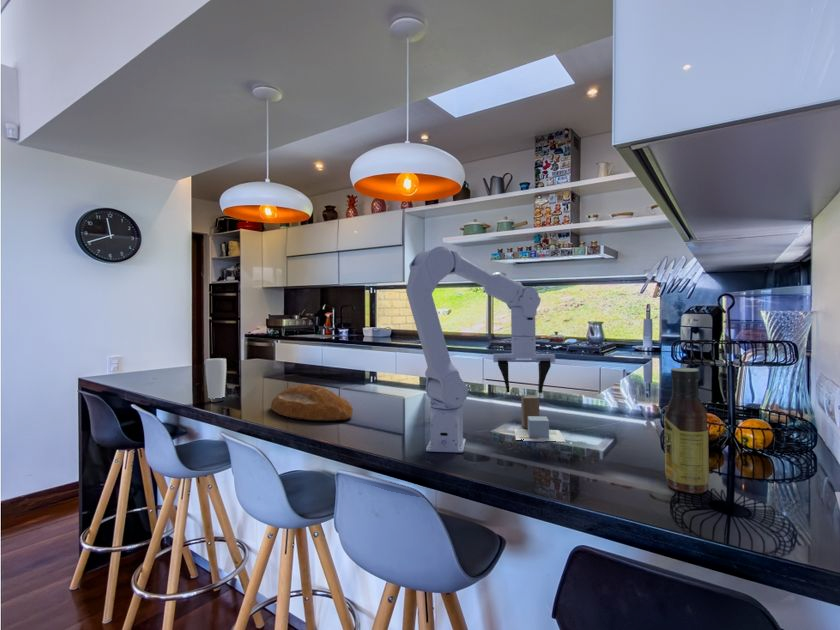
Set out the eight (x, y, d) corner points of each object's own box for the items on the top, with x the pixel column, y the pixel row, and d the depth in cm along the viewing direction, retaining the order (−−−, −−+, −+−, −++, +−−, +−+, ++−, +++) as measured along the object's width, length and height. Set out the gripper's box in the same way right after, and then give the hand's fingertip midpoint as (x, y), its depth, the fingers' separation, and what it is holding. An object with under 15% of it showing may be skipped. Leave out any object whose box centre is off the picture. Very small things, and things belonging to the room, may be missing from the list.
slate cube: (549, 437, 105) (548, 420, 105) (529, 437, 106) (529, 420, 106) (546, 432, 110) (546, 416, 110) (527, 432, 111) (527, 416, 111)
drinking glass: (207, 400, 161) (206, 358, 161) (228, 399, 163) (227, 357, 163) (204, 404, 154) (203, 360, 154) (225, 402, 156) (225, 359, 156)
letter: (565, 442, 102) (565, 441, 102) (516, 440, 104) (516, 440, 104) (559, 430, 112) (559, 430, 112) (514, 429, 114) (514, 429, 114)
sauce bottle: (669, 478, 79) (667, 365, 79) (711, 486, 75) (709, 367, 75) (661, 490, 74) (659, 369, 74) (706, 499, 70) (704, 372, 70)
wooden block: (521, 425, 118) (520, 394, 118) (536, 425, 118) (536, 394, 118) (524, 429, 114) (523, 397, 114) (539, 429, 114) (539, 397, 114)
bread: (319, 429, 118) (318, 395, 118) (254, 411, 142) (253, 383, 142) (370, 417, 131) (369, 387, 131) (302, 402, 155) (301, 377, 155)
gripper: (552, 335, 112) (552, 389, 112) (493, 335, 114) (493, 388, 114) (555, 336, 105) (556, 394, 105) (493, 336, 107) (493, 393, 107)
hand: (523, 392), depth 109 cm, fingers open, 7 cm apart
